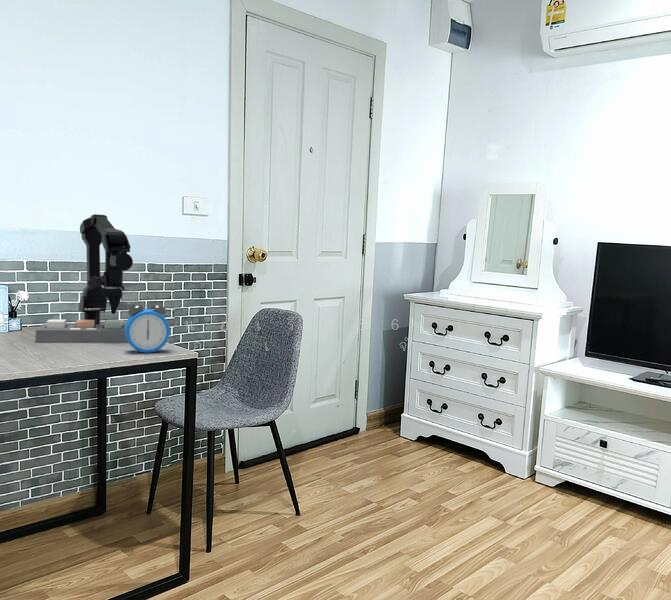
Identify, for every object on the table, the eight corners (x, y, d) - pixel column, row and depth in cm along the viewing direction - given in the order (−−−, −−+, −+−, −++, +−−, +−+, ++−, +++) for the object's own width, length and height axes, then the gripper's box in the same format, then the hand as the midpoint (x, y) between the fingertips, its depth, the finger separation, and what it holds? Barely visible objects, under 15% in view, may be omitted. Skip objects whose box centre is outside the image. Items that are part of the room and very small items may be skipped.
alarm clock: (125, 354, 188) (126, 305, 186) (124, 350, 193) (124, 302, 192) (169, 353, 193) (170, 305, 191) (167, 349, 198) (168, 303, 197)
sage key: (105, 329, 214) (105, 319, 214) (122, 330, 216) (122, 320, 216) (104, 332, 209) (104, 322, 209) (121, 332, 211) (121, 322, 210)
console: (42, 335, 211) (42, 323, 211) (129, 336, 219) (129, 324, 219) (35, 342, 199) (35, 329, 198) (127, 342, 207) (127, 330, 206)
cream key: (49, 329, 209) (49, 319, 209) (66, 329, 211) (66, 319, 211) (46, 332, 204) (46, 321, 204) (64, 332, 206) (64, 321, 205)
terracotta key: (77, 329, 212) (77, 319, 212) (94, 329, 213) (94, 319, 213) (75, 332, 207) (75, 321, 206) (92, 332, 208) (93, 322, 208)
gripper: (91, 265, 217) (91, 309, 219) (85, 269, 199) (85, 317, 201) (125, 266, 220) (124, 310, 222) (122, 270, 202) (121, 317, 204)
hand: (113, 313), depth 212 cm, fingers closed
